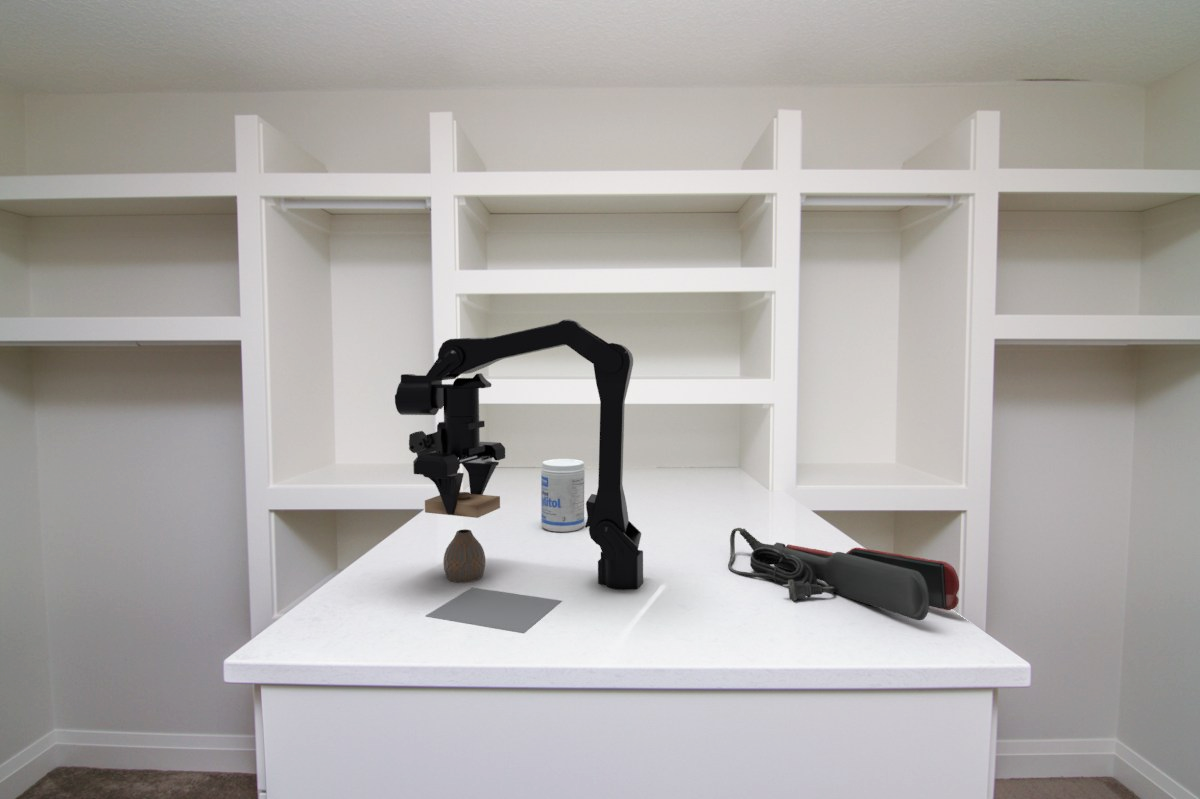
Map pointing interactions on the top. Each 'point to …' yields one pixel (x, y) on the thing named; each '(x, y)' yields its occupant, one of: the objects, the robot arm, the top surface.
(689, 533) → the top surface
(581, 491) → the supplement tub
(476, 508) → the lid
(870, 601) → the hair straightener
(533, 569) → the top surface
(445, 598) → the top surface
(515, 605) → the mat
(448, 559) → the vase
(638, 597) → the top surface
